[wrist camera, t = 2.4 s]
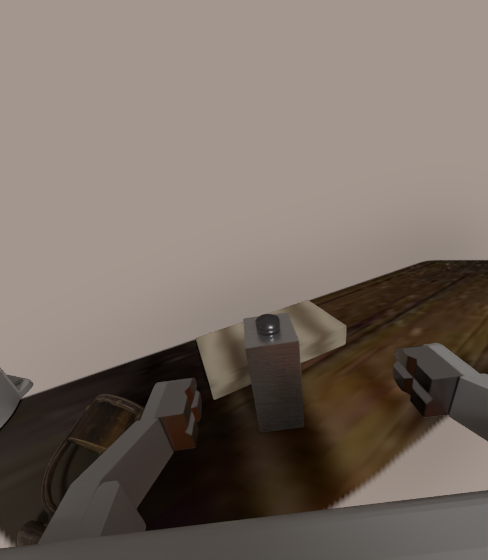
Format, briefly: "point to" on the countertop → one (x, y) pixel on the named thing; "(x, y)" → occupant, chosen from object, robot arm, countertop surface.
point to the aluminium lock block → (274, 371)
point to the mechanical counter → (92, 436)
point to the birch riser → (232, 356)
